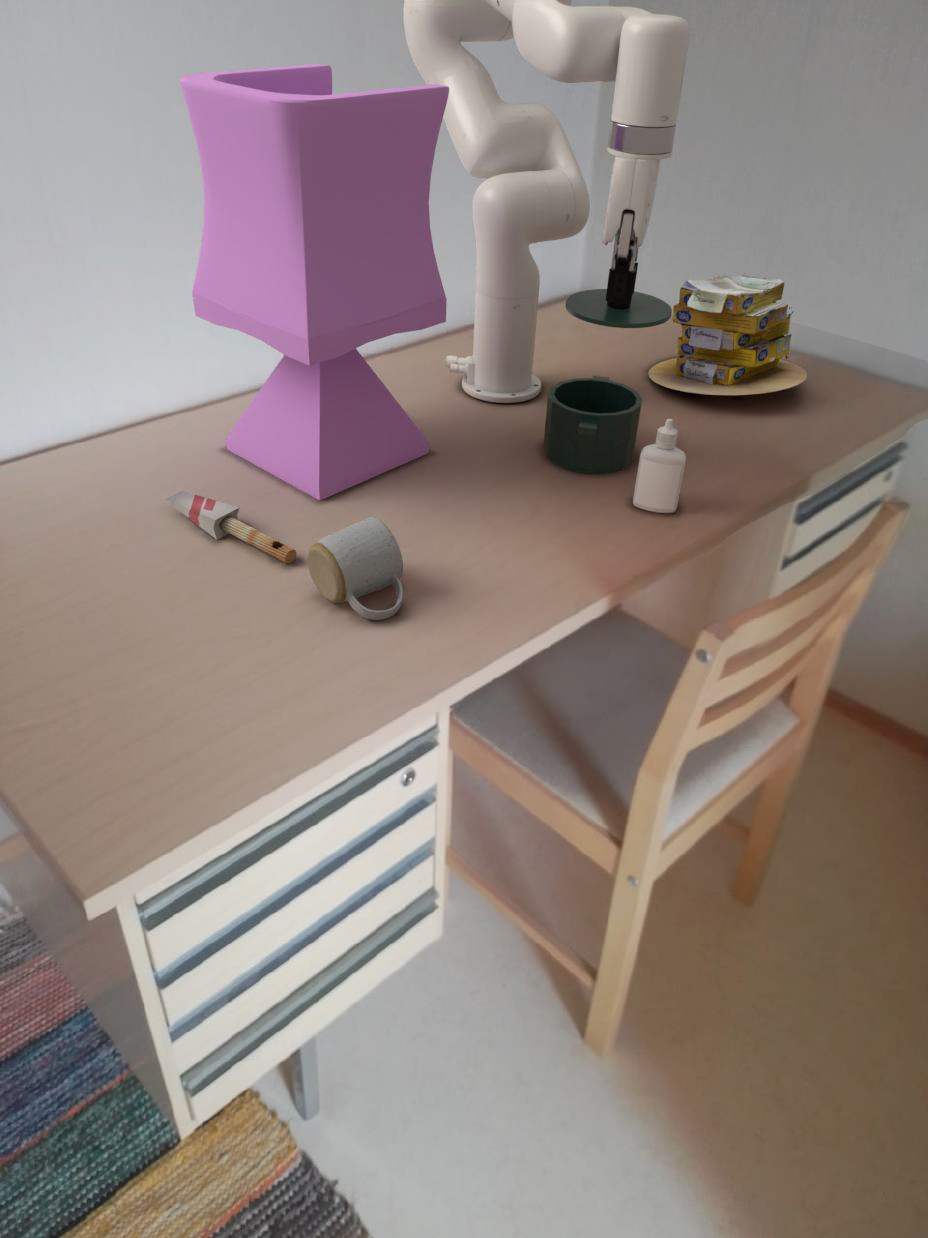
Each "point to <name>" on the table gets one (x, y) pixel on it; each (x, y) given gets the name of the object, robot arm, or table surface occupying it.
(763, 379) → the boxes on wooden plate
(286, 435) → the pink goblet vase
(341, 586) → the ceramic mug
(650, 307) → the lid
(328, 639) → the table surface
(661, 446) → the eye dropper bottle
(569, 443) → the pot
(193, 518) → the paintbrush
